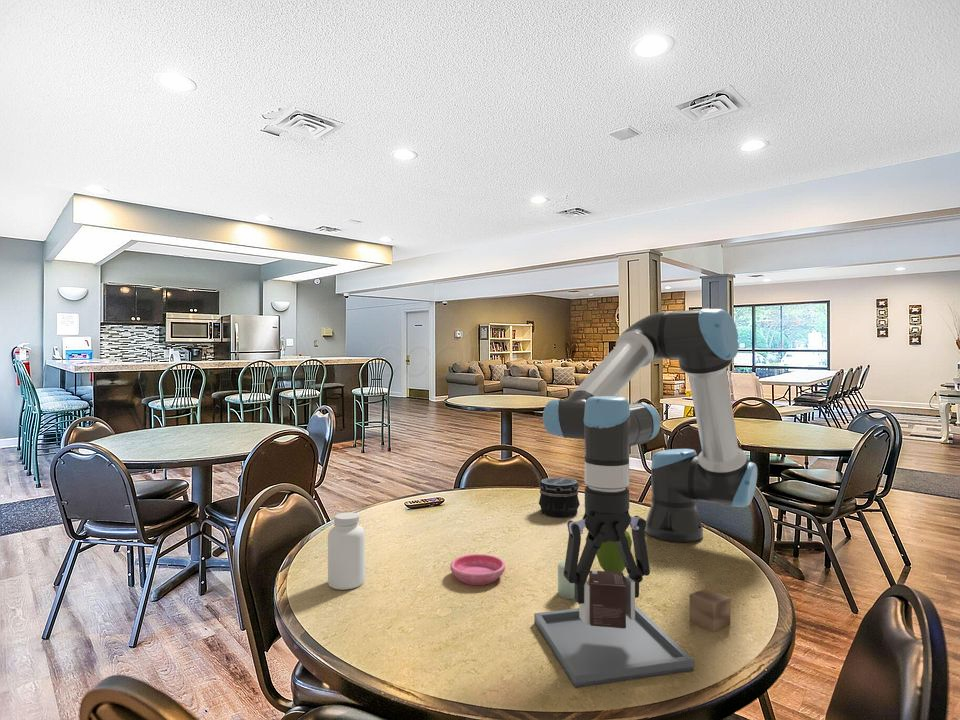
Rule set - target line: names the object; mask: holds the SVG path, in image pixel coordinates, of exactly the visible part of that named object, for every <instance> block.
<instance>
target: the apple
mask: <svg viewBox="0 0 960 720" xmlns="http://www.w3.org/2000/svg"><path fill="white" fill-rule="evenodd" d="M624 533H625V535H626V538H627V540H628V546H629V548H630V551H631V550H632V544H633V539H632V538H631V533H630V532H629V531H627V530H626V531H625V532H624ZM594 540H595V539H594ZM631 552H632V551H631ZM596 557H597V561H598V564H599V566H600V568H601V569H602V571H609V572H623V571H624V570H626V567H625V565H624V562H623V560H622V557H621V555H620V552H619V550H618V547H617V545H616V542H613V541H608V542H604V543H602V544H601V547H600V548H599V549H598V550H597V553H596Z"/></svg>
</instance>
